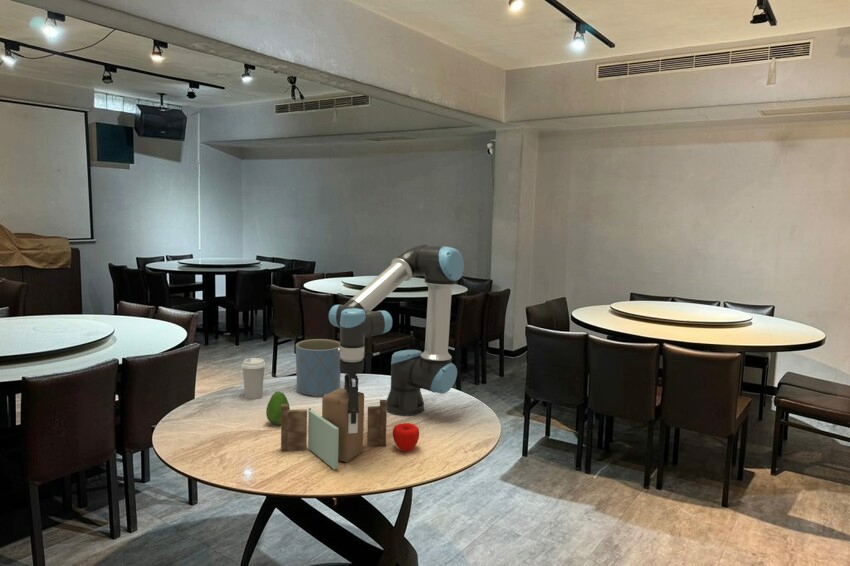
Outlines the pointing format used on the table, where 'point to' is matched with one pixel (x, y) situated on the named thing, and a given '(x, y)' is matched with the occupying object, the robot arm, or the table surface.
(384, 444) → the wall frame
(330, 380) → the planter
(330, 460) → the door
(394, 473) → the table surface
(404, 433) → the apple
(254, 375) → the coffee cup
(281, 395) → the fruit
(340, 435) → the wooden block
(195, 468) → the table surface
